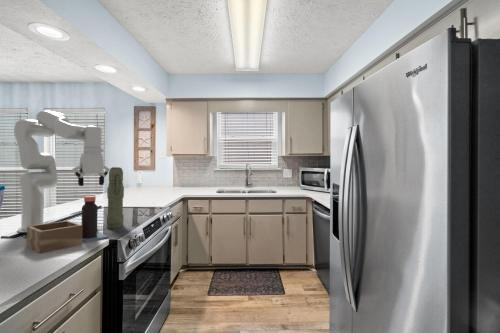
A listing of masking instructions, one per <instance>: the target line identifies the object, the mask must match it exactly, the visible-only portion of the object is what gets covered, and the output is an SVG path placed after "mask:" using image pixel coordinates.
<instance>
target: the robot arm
mask: <svg viewBox="0 0 500 333" xmlns="http://www.w3.org/2000/svg"><path fill="white" fill-rule="evenodd" d="M102 132H103V131H102V127H100V126H96V125H78V124H71V123H70V120H69V119H68V116H67V115H66V114H64V113H61V112H56V111H51V110H41V111H39V112H38V113H37V114H36V116H35V119H28V118H27V119H25V118H23V119H19V120H18V121H17V122H15V124H14V128H13V134H14V137H15V138H14V139H15V140H16V142H17V145H18V153H19V154H18V155H19V160H20V165H21V167H22V169H24V170H27V171H28V172H24V173H23V174H22V175H20V177H19V181H18V182H19V186H20V187H19V188H20V191H21V215H20V216H21V219H20V220H21V222H20V223H21V224H20V225H21V227H18V228H17V233H18V232H19V233H27V226H33V225H40V224H44V212H45V211H44V208H45V206H44V205H45V201H44V200H45V198H44V194H43V193H42V192H41V190H43V189H44V190H45V189H52V188H54V187H56V186H57V185H58V170H57V166H56V165H57V163H56V159H55V158H54V156H53V155H52V154H50V153H47V152H40V150H39V144H38V142H37V140H36V139H34V138H33V137H34V136H35V137H42V138H43V137H44V138H45V137H46V138H49V137H53V136H55V135H56V136H58V137H61V138H63V139H65V140H69V141H70V140H71V141H81V142H82V141H83V153H81V155H80V158H79V164H78V166H75V167H72V171H73V173H74V175H75V176H76V177H77V178H78V179H77V182H78V183H77V184H78V186H80V187H83V186H84V181H85V180H84V176H85V175H92V174H93V175H97V174H98V175H99V176H98V185H100V186H103V185H104V183H105V178H106V176H107V175H109V171H110V168H109V167H107V166H105V165H104V157H103V154H102V153H103V152H104V149H103V148H102V135H103V134H102ZM29 170H30V171H29ZM35 170H37V171H35Z"/></svg>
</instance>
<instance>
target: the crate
mask: <svg viewBox="0 0 500 333" xmlns="http://www.w3.org/2000/svg"><path fill="white" fill-rule="evenodd" d="M76 245H77V246H81V245H83V241H82V223H81V224H80V223H77V222H74V221H71V220H62V221H55V222H47V223H43V224H40V225H33V226H27V232H26V247H27V248H29V249H30V248H31V249H30V250H32V251H35V252H37V253H38V254H43V253H49V252H54V251H58V250H62V249H67V247H68V248H71V247H72V246H73V247H77V246H76Z"/></svg>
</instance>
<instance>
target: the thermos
mask: <svg viewBox="0 0 500 333" xmlns="http://www.w3.org/2000/svg"><path fill="white" fill-rule="evenodd" d="M109 169H110V170H109V172H108V185H107V188H106V189H107V190H106V191H107V193H106V195H107V196H106V197H107V215H106V229H112V230H114V229H120V228H123V227H124V214H123V211H124V210H123V209H124V208H123V206H124V205H123V204H124V196H125V195H124V194H125V187H124V183H123V181H124V171H123V168H122V167H118V166H115V167H114V166H113V167H110V168H109Z"/></svg>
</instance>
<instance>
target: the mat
mask: <svg viewBox="0 0 500 333" xmlns="http://www.w3.org/2000/svg"><path fill="white" fill-rule="evenodd" d="M108 238H109V236H108V235H106V234H102V233H101V232H97V236H96V237H93V238H82V243H91V242H95V241H101V240H105V239H108Z"/></svg>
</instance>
